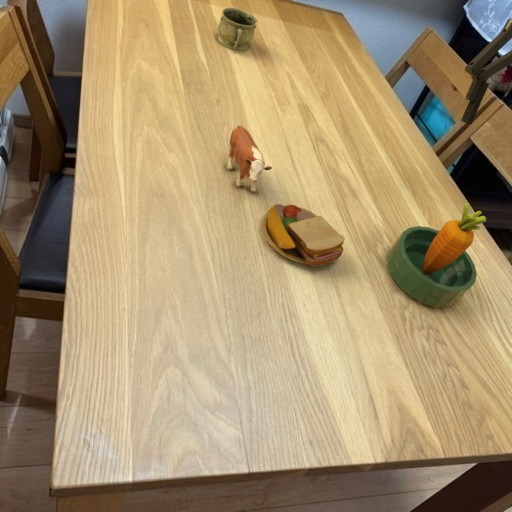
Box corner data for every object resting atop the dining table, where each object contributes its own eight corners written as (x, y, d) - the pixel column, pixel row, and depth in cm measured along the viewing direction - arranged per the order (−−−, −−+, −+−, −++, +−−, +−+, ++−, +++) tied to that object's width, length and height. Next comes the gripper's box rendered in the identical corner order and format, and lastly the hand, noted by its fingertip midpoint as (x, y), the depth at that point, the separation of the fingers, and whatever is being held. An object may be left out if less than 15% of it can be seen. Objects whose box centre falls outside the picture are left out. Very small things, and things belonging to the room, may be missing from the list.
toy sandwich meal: (311, 207, 86) (321, 187, 83) (348, 267, 79) (361, 247, 76) (248, 213, 81) (256, 192, 77) (281, 277, 74) (292, 257, 70)
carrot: (408, 259, 84) (459, 195, 73) (433, 265, 85) (488, 203, 74) (413, 281, 81) (467, 218, 70) (440, 287, 82) (497, 226, 71)
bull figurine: (238, 206, 81) (252, 168, 75) (220, 153, 89) (231, 116, 83) (262, 207, 83) (277, 170, 77) (243, 155, 91) (255, 118, 85)
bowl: (453, 259, 89) (469, 241, 85) (463, 319, 79) (483, 301, 76) (384, 236, 87) (397, 216, 84) (386, 294, 78) (402, 275, 74)
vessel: (252, 58, 117) (260, 32, 112) (216, 49, 114) (223, 23, 110) (248, 34, 124) (255, 9, 120) (214, 26, 122) (220, 0, 117)
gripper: (622, 24, 79) (557, 152, 86) (482, -26, 76) (426, 110, 84) (658, 20, 72) (584, 160, 79) (505, -35, 69) (442, 114, 77)
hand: (503, 134), depth 81 cm, fingers open, 13 cm apart
